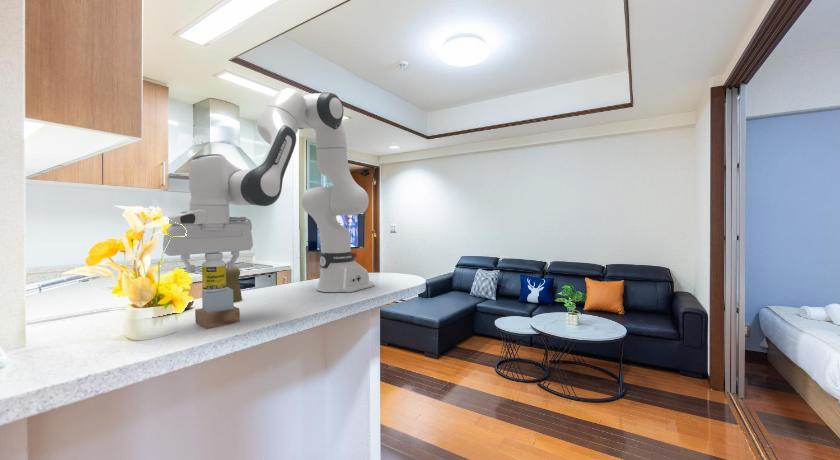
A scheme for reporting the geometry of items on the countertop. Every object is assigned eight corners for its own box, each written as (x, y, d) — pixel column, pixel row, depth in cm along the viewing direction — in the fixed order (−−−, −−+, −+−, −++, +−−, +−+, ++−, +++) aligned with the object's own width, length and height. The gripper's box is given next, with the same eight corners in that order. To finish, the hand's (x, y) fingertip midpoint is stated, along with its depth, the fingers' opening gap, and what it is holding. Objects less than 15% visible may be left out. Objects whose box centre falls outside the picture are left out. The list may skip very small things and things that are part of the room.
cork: (246, 298, 121) (245, 266, 121) (235, 303, 115) (234, 269, 115) (229, 298, 122) (228, 266, 122) (217, 302, 116) (216, 269, 116)
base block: (228, 317, 100) (227, 303, 100) (239, 323, 95) (239, 308, 95) (195, 324, 94) (195, 309, 94) (206, 330, 89) (205, 314, 89)
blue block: (227, 304, 99) (227, 286, 99) (233, 308, 94) (233, 289, 94) (202, 308, 95) (201, 289, 95) (207, 312, 90) (207, 293, 90)
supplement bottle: (204, 293, 90) (203, 254, 90) (201, 290, 94) (199, 253, 94) (228, 290, 93) (227, 253, 93) (224, 287, 98) (223, 251, 97)
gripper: (246, 216, 102) (247, 265, 103) (160, 217, 87) (162, 273, 88) (256, 216, 98) (257, 267, 99) (166, 217, 83) (168, 276, 84)
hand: (211, 270), depth 93 cm, fingers open, 8 cm apart
